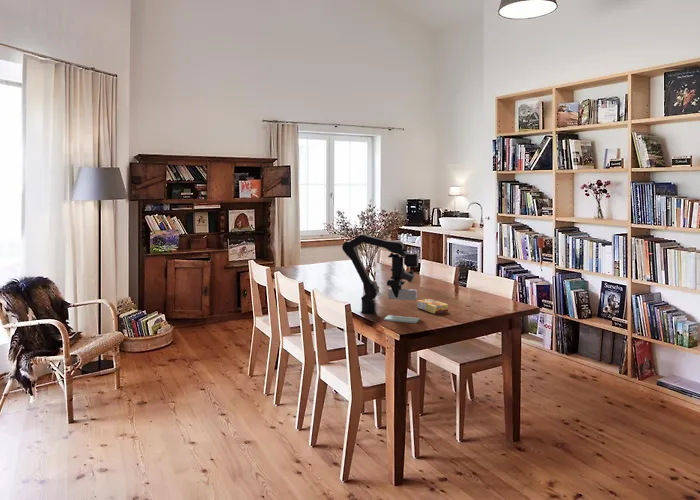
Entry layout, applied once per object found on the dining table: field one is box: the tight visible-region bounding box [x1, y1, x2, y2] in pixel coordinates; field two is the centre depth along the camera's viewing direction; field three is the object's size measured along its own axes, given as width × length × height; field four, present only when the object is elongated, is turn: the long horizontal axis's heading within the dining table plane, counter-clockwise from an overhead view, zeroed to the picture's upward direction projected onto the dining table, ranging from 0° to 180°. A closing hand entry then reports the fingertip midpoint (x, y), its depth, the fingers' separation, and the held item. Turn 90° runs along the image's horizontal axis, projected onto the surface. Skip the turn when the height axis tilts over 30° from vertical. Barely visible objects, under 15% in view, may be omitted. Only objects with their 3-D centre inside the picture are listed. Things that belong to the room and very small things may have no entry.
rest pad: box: [383, 314, 421, 324], centre depth 264 cm, size 16×7×1 cm, turn 71°
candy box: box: [416, 298, 449, 315], centre depth 283 cm, size 9×4×15 cm
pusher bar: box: [387, 287, 418, 301], centre depth 273 cm, size 14×3×5 cm, turn 73°
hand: (397, 296), depth 274 cm, fingers closed on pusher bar, 3 cm apart
